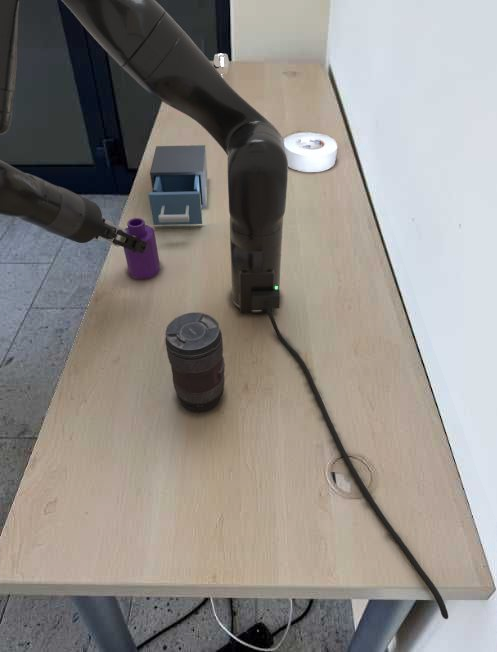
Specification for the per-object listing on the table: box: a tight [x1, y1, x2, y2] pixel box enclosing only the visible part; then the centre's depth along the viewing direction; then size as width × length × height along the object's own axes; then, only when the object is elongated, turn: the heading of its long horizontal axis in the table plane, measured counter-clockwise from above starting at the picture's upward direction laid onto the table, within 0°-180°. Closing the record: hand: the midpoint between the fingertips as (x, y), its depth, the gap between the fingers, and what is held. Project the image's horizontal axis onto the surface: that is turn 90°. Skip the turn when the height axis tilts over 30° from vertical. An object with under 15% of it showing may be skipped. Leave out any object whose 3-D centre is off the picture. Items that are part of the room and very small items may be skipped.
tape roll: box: [283, 131, 338, 173], centre depth 138 cm, size 15×15×5 cm
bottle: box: [123, 217, 161, 280], centre depth 98 cm, size 6×6×12 cm
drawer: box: [148, 175, 203, 226], centre depth 113 cm, size 20×11×8 cm, turn 2°
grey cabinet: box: [149, 144, 209, 209], centre depth 122 cm, size 15×13×10 cm
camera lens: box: [164, 312, 226, 414], centre depth 73 cm, size 8×8×15 cm
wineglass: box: [212, 52, 230, 78], centre depth 177 cm, size 6×6×12 cm
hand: (128, 240), depth 95 cm, fingers open, 8 cm apart
